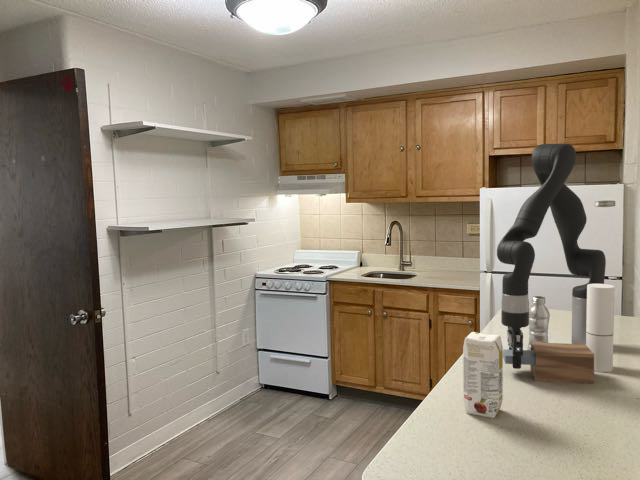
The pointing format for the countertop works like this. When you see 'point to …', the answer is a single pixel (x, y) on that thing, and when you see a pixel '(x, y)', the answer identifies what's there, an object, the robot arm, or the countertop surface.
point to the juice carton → (482, 374)
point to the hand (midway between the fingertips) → (514, 363)
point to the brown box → (563, 363)
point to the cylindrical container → (600, 325)
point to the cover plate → (526, 359)
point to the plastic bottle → (538, 321)
